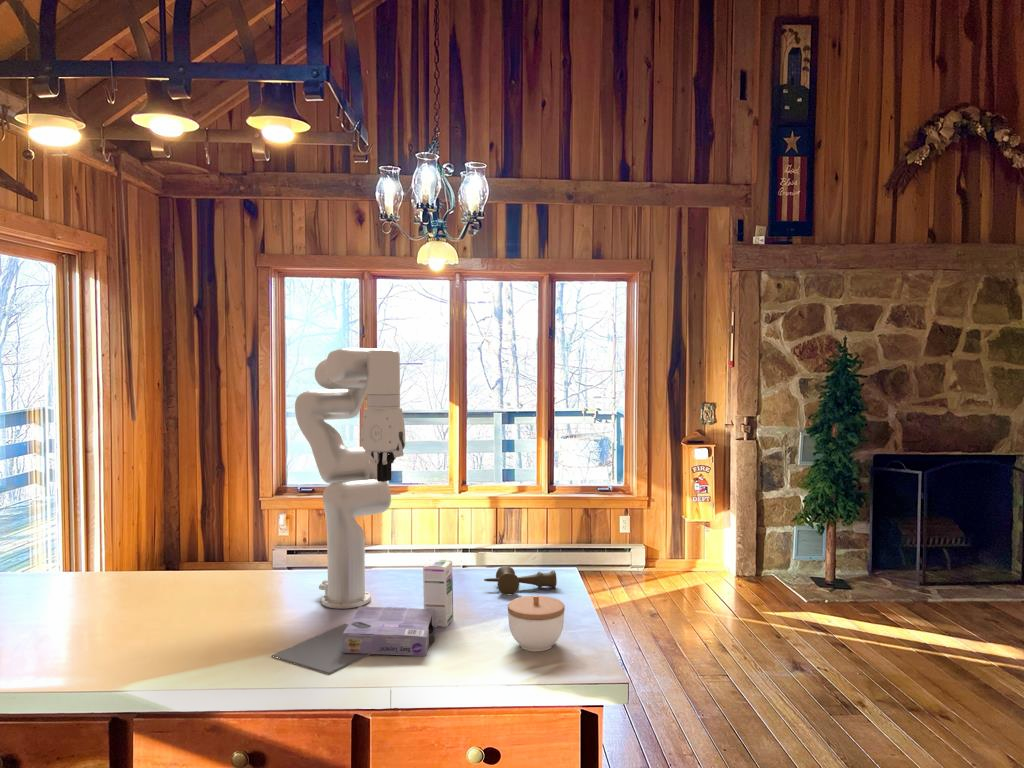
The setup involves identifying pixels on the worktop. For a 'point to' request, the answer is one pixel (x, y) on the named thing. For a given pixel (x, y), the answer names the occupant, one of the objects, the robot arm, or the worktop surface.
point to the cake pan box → (389, 631)
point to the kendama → (521, 580)
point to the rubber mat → (321, 652)
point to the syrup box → (439, 590)
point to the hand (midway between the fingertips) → (384, 480)
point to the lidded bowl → (536, 621)
